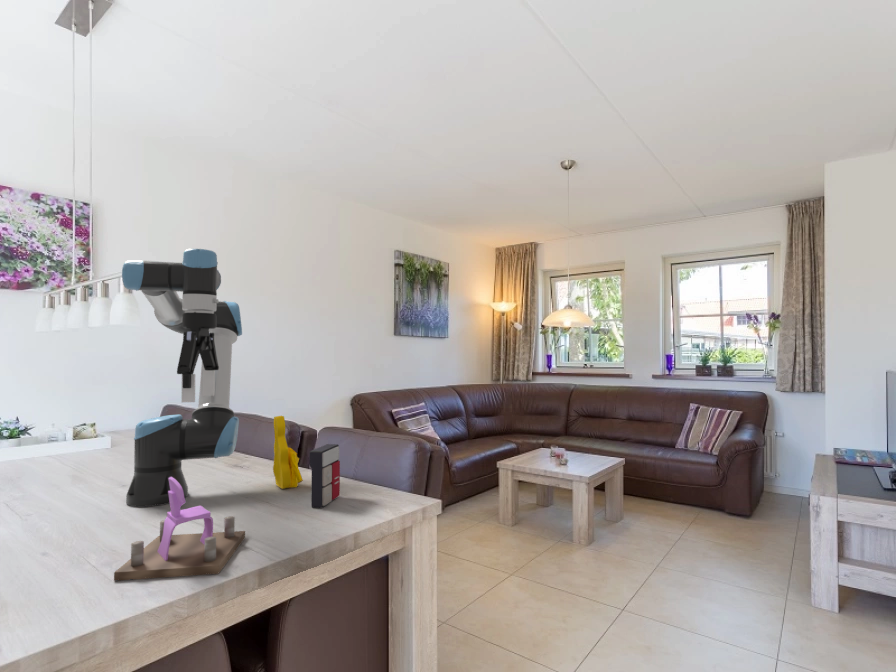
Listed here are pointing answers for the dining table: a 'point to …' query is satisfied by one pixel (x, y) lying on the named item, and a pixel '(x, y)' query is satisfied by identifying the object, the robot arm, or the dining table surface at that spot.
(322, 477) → the grey and red block
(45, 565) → the dining table surface
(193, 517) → the toy chair
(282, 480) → the figure statuette
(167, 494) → the robot arm
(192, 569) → the peg stand
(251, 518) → the dining table surface
